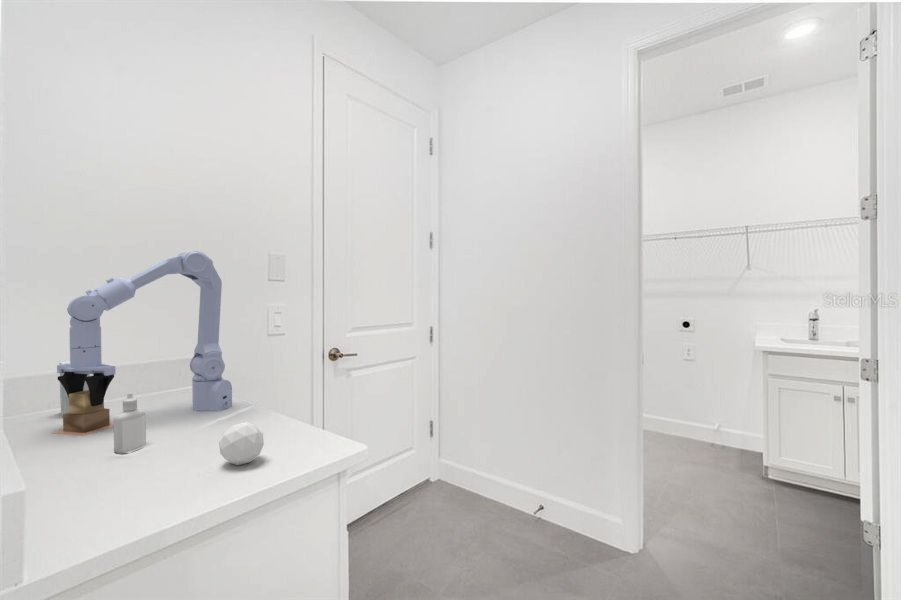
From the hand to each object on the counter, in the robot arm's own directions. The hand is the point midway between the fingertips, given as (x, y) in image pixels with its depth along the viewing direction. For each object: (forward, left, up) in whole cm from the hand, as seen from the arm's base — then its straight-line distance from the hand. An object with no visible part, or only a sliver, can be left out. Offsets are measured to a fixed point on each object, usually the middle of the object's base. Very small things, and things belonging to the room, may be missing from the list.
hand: (86, 404), depth 104 cm
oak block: (0, 0, -2) cm, 2 cm away
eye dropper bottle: (-21, +8, -7) cm, 23 cm away
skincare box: (+16, -10, -7) cm, 20 cm away
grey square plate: (-2, -4, -6) cm, 8 cm away
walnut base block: (0, 0, -6) cm, 6 cm away
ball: (-48, +9, -7) cm, 49 cm away
